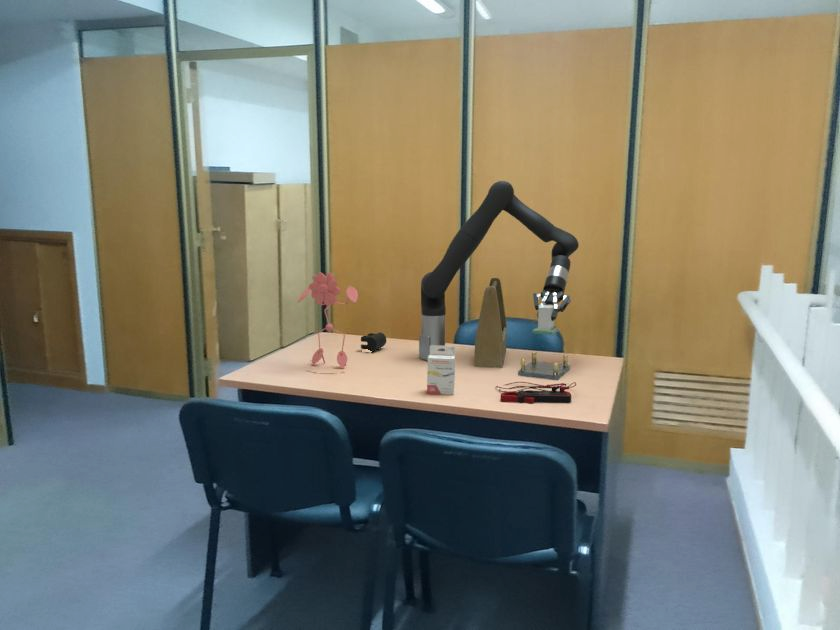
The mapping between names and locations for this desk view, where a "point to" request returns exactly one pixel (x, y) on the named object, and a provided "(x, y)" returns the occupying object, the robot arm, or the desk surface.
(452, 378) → the ink cartridge box
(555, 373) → the standoff chassis
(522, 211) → the robot arm
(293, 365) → the desk surface
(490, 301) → the caddy
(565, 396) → the digital clamp meter
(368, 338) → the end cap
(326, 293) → the figurine
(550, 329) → the board module
